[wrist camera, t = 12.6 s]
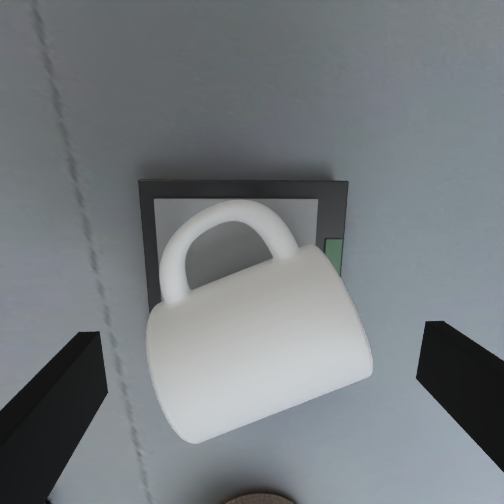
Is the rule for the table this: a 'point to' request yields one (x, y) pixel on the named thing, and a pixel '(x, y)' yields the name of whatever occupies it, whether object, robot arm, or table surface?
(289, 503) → the planter
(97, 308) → the table surface
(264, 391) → the mug
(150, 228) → the scale
